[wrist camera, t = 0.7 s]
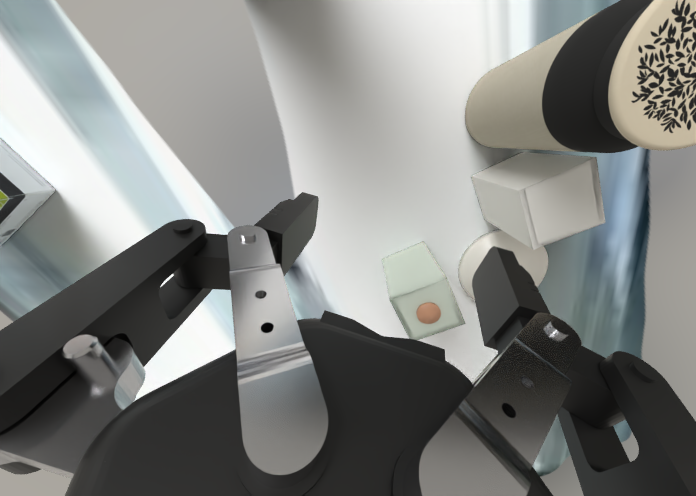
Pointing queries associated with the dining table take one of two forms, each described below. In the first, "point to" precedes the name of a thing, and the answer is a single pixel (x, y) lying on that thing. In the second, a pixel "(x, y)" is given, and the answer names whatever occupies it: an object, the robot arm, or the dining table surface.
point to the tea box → (18, 191)
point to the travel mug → (597, 85)
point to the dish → (526, 257)
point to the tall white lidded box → (541, 196)
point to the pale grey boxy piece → (420, 292)
